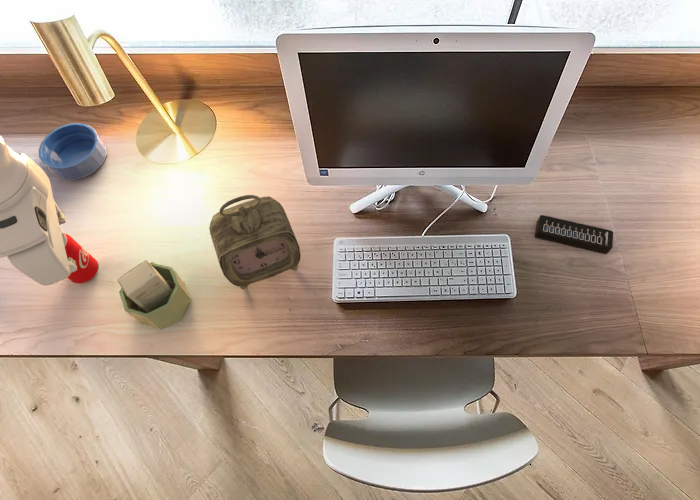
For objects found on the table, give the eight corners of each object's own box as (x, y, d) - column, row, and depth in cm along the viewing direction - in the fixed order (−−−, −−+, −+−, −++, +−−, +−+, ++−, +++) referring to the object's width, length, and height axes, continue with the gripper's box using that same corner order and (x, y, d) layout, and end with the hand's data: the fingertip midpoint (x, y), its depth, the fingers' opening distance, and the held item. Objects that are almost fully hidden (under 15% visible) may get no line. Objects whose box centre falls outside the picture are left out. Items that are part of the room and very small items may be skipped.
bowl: (40, 175, 115) (27, 161, 110) (70, 132, 120) (59, 118, 116) (89, 186, 112) (78, 173, 108) (117, 143, 118) (108, 129, 114)
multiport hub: (537, 220, 104) (540, 214, 102) (608, 236, 101) (613, 230, 99) (534, 237, 102) (537, 231, 100) (607, 254, 99) (612, 249, 97)
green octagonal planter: (127, 320, 97) (110, 306, 90) (151, 273, 101) (137, 258, 95) (175, 333, 95) (161, 321, 89) (197, 286, 99) (186, 270, 93)
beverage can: (105, 261, 103) (75, 233, 92) (90, 288, 100) (57, 261, 90) (79, 255, 104) (46, 225, 93) (64, 281, 101) (28, 253, 91)
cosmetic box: (171, 285, 100) (147, 257, 89) (182, 300, 98) (159, 274, 87) (143, 304, 98) (115, 278, 87) (154, 320, 96) (126, 296, 85)
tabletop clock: (237, 297, 98) (199, 234, 76) (226, 260, 102) (186, 190, 80) (306, 272, 100) (287, 203, 78) (291, 236, 104) (270, 162, 82)
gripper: (-26, 147, 68) (35, 202, 81) (-9, 264, 59) (57, 306, 72) (20, 130, 69) (73, 187, 82) (44, 243, 60) (99, 288, 73)
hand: (66, 244), depth 77 cm, fingers open, 8 cm apart
